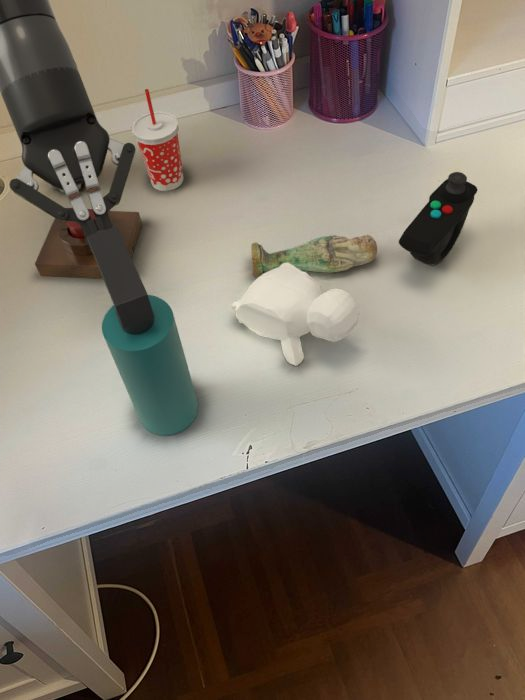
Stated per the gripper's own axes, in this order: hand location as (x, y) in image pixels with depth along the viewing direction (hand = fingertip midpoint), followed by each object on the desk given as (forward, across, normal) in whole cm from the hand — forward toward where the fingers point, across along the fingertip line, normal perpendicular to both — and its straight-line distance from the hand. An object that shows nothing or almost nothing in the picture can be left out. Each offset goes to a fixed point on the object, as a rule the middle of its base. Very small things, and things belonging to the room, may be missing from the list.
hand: (108, 254), depth 65 cm
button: (-5, -1, +19) cm, 20 cm away
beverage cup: (-8, +12, +28) cm, 31 cm away
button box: (-2, -1, +22) cm, 22 cm away
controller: (+13, +36, +7) cm, 39 cm away
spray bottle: (+16, 0, +4) cm, 16 cm away
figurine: (+9, +23, +10) cm, 27 cm away
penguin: (+15, +17, +5) cm, 23 cm away
